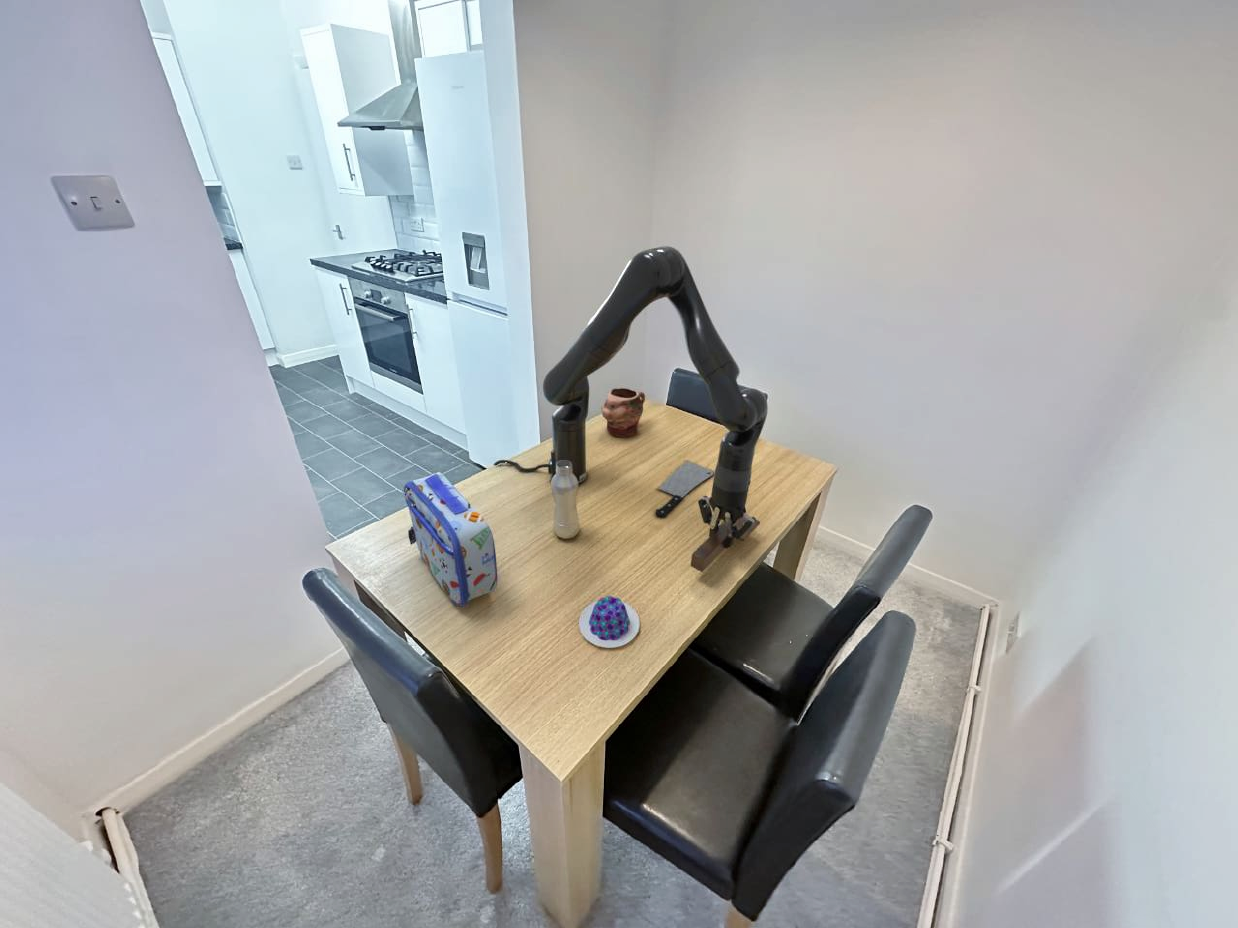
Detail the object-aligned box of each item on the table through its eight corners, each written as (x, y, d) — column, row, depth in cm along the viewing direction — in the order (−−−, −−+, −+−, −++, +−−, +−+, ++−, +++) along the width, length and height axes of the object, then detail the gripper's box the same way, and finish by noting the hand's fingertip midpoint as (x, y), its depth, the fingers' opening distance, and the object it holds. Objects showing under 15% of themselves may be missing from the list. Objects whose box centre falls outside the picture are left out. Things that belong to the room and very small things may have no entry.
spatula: (710, 576, 104) (712, 564, 103) (682, 561, 108) (684, 549, 106) (759, 523, 120) (762, 512, 119) (734, 512, 124) (736, 501, 122)
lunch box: (407, 549, 114) (386, 470, 103) (449, 531, 120) (434, 454, 109) (461, 621, 97) (444, 535, 85) (507, 596, 103) (497, 512, 91)
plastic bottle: (559, 545, 117) (556, 474, 107) (549, 529, 122) (545, 460, 112) (584, 537, 120) (583, 468, 109) (573, 522, 125) (571, 454, 114)
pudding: (612, 592, 104) (613, 574, 102) (652, 627, 97) (653, 609, 94) (566, 621, 98) (566, 603, 95) (605, 661, 90) (605, 642, 87)
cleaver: (632, 505, 131) (664, 519, 126) (633, 503, 131) (664, 517, 126) (686, 461, 152) (715, 472, 147) (686, 460, 152) (716, 471, 147)
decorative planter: (627, 414, 179) (628, 379, 172) (654, 424, 173) (657, 387, 166) (592, 434, 166) (592, 396, 158) (621, 445, 159) (622, 406, 152)
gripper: (693, 476, 105) (686, 538, 114) (753, 501, 98) (740, 565, 107) (711, 462, 110) (702, 523, 119) (770, 485, 103) (755, 548, 112)
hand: (720, 543), depth 113 cm, fingers closed on spatula, 3 cm apart
